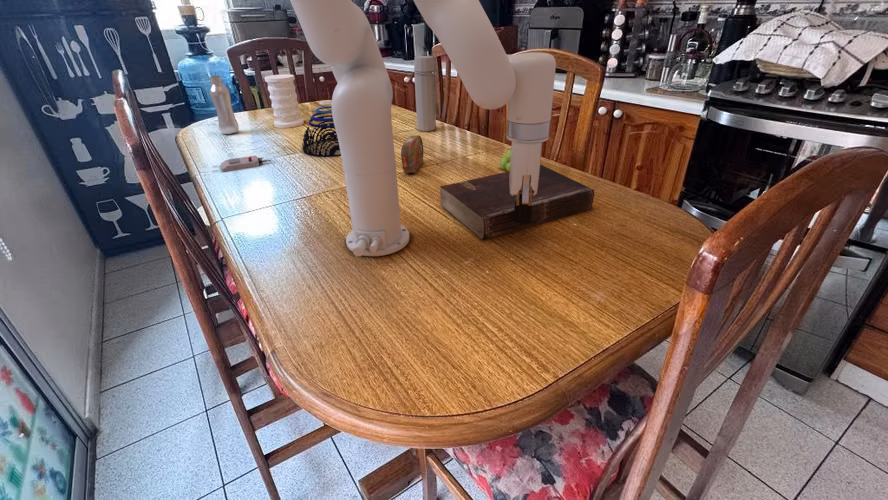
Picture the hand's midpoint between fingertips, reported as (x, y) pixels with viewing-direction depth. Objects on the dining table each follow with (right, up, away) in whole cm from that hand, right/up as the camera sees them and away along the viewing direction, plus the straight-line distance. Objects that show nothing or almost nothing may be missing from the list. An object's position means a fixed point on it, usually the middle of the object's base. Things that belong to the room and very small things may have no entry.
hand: (521, 221), depth 83 cm
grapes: (+3, +18, +35) cm, 40 cm away
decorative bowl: (-53, +29, +56) cm, 82 cm away
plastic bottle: (-97, +38, +74) cm, 128 cm away
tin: (-25, +18, +37) cm, 48 cm away
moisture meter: (-76, +20, +43) cm, 90 cm away
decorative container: (-78, +45, +85) cm, 124 cm away
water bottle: (-21, +39, +73) cm, 86 cm away
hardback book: (+1, +4, +13) cm, 13 cm away
